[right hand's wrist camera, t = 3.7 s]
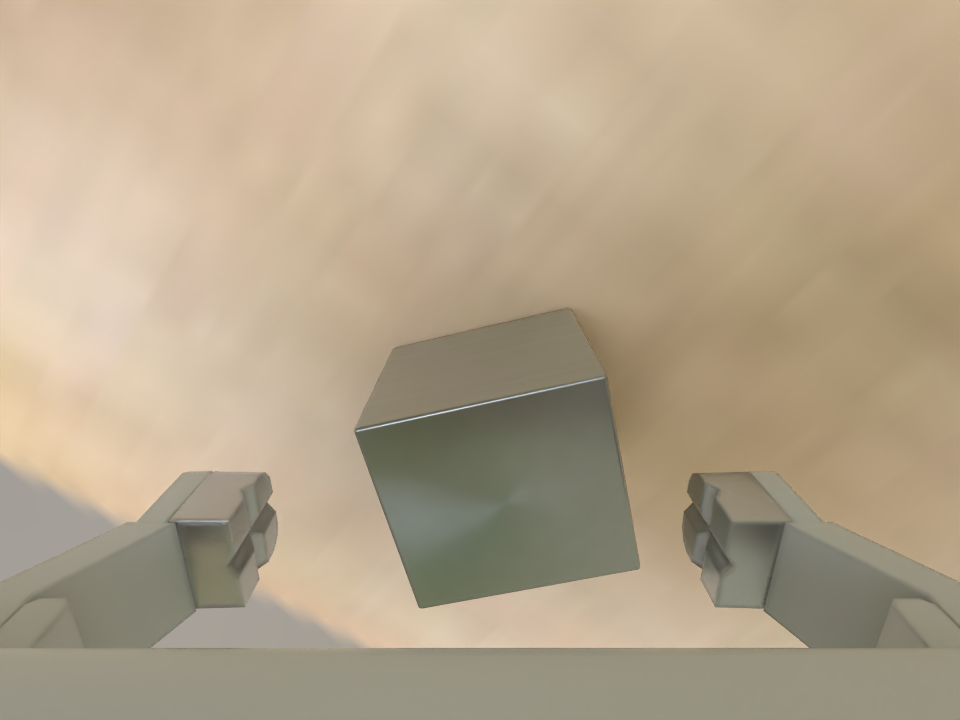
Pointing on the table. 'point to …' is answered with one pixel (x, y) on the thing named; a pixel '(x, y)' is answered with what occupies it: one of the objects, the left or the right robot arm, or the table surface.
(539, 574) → the block
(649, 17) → the table surface
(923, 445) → the table surface
